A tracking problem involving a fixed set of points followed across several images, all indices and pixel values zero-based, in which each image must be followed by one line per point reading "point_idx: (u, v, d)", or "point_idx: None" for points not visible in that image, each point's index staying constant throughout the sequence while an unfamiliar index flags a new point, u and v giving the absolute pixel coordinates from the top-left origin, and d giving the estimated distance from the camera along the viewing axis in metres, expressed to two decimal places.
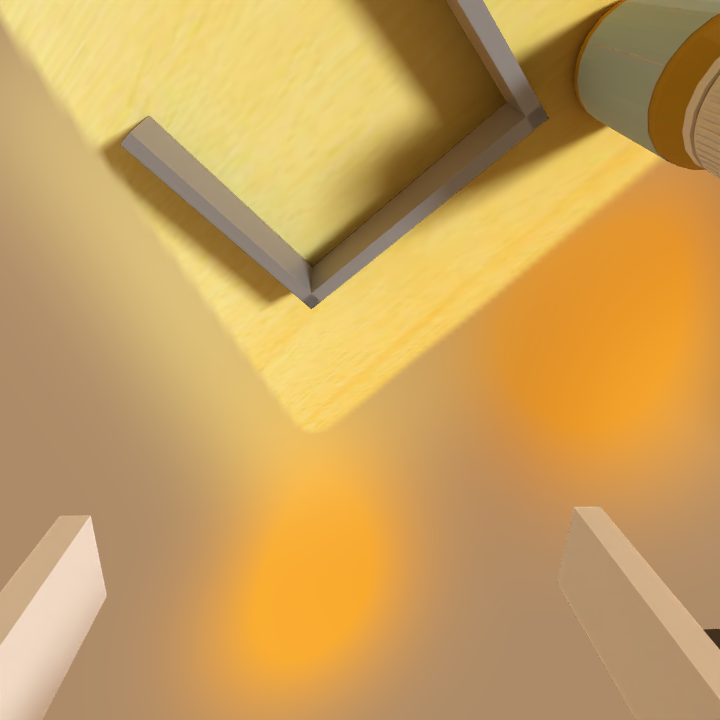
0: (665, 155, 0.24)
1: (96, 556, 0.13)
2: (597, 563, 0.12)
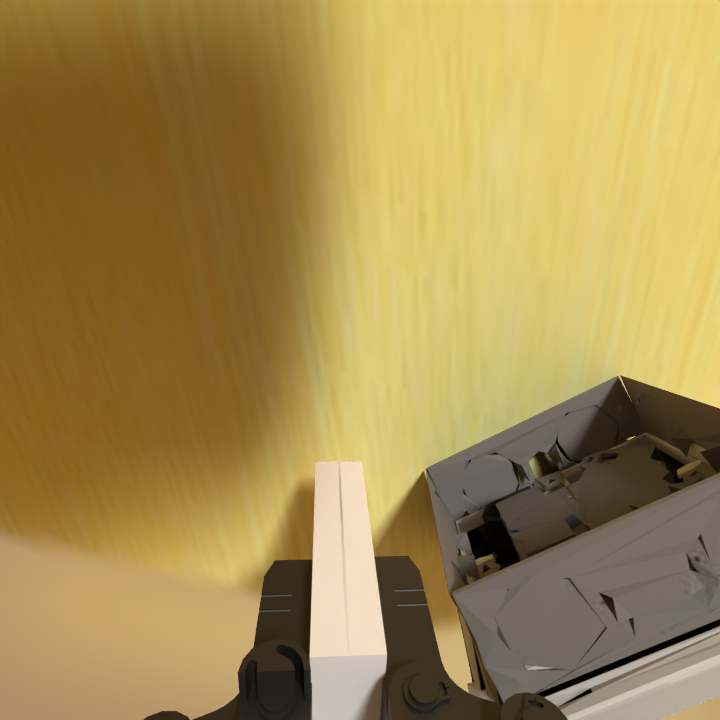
0: None
1: None
2: None
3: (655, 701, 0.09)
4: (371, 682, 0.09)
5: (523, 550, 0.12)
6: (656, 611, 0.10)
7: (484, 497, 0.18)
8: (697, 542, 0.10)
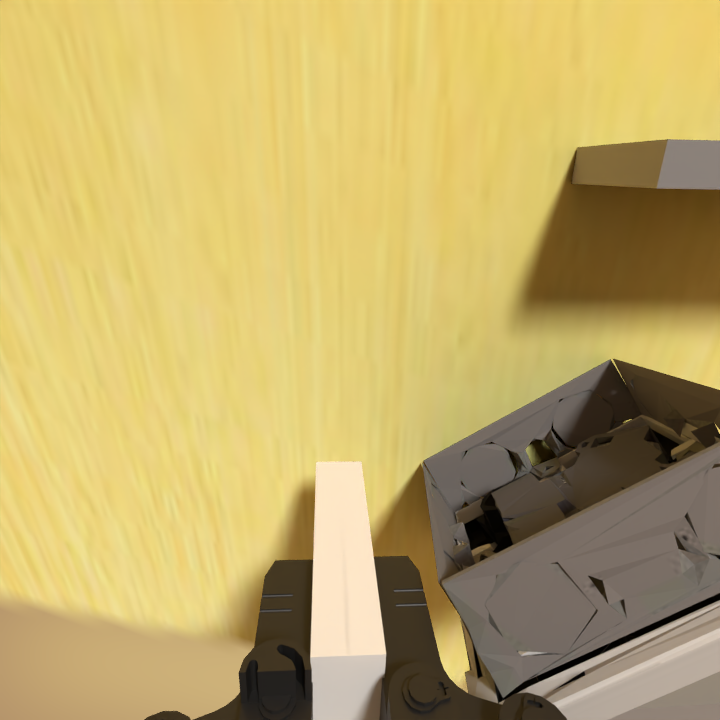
0: None
1: None
2: None
3: (648, 681, 0.09)
4: (370, 682, 0.09)
5: (516, 537, 0.12)
6: (647, 592, 0.10)
7: (482, 487, 0.18)
8: (684, 521, 0.10)
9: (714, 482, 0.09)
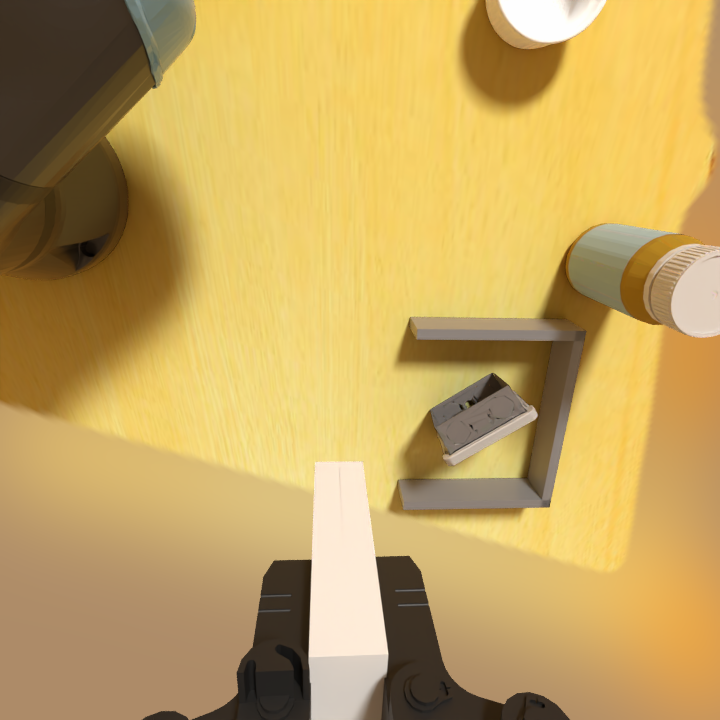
0: None
1: None
2: None
3: (480, 444, 0.43)
4: (372, 682, 0.09)
5: None
6: (482, 427, 0.43)
7: (450, 417, 0.51)
8: (488, 410, 0.43)
9: (494, 401, 0.43)
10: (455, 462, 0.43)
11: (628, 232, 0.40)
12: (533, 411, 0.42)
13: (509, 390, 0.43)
